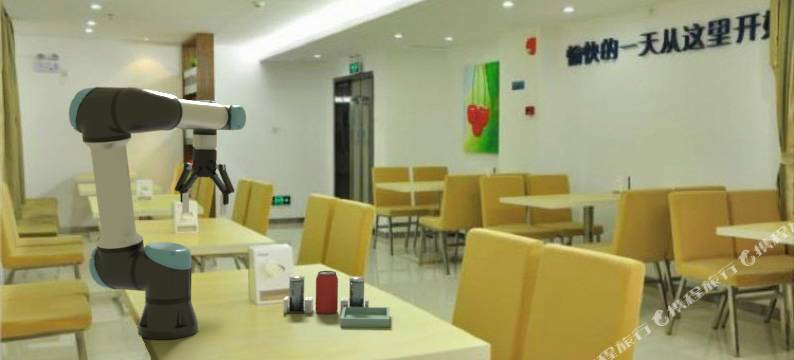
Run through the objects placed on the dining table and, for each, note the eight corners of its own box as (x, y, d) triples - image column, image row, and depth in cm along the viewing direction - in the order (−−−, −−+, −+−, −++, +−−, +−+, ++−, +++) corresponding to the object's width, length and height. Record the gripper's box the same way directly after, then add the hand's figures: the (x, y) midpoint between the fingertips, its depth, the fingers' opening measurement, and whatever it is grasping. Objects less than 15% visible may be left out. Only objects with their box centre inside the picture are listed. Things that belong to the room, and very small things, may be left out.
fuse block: (368, 314, 209) (368, 279, 208) (283, 313, 209) (283, 278, 208) (368, 310, 214) (369, 276, 214) (285, 309, 214) (286, 275, 213)
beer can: (333, 315, 208) (334, 275, 207) (312, 313, 209) (313, 273, 208) (340, 309, 214) (340, 271, 213) (319, 308, 215) (319, 269, 215)
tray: (389, 327, 195) (389, 319, 195) (340, 326, 195) (340, 318, 195) (389, 315, 209) (389, 307, 208) (343, 314, 208) (343, 306, 208)
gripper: (245, 149, 228) (244, 214, 229) (177, 147, 234) (176, 211, 235) (234, 149, 220) (233, 216, 221) (164, 147, 227) (163, 213, 228)
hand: (204, 214), depth 228 cm, fingers open, 13 cm apart
